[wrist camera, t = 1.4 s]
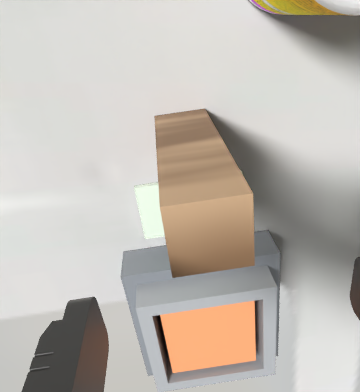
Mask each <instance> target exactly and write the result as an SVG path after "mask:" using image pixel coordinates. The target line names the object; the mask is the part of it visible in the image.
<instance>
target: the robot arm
mask: <svg viewBox="0 0 360 392" xmlns="http://www.w3.org/2000/svg"><path fill="white" fill-rule="evenodd" d="M350 300H351V305H352V308H353V310H354V312H355V314H356V315H357V317H358V318H359V320H360V257H358V258H356V260H355V264H354V270H353V277H352V284H351V290H350ZM108 349H109V344H108V334H107V330H106V327H105V324H104V321H103V318H102V315H101V312H100V309H99V306H98V303H97V300H96V298H95V297H89V298H82V299H76V300H70V301H69V302H68V303H67V306H66V309H65V313H64V317H63V320H58V321H52V322H51V324H50V325H49V326H48V328H47V329H46V330H45V332H44V333H43V334H42V335H41V337H40V339H39V343H38V345H37V348H36V351H35V357H34V358H33V360H32V363H31V366H30V372H29V373H28V375H27V378H26V381H25V384H24V386H23V390H22V392H104V384H105V376H106V368H107V359H108V351H109V350H108Z"/></svg>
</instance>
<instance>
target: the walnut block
mask: <svg viewBox="0 0 360 392" xmlns="http://www.w3.org/2000/svg"><path fill="white" fill-rule="evenodd" d="M155 132H156V150H157V167H158V185H159V203H160V211H161V217H162V223H163V228H164V234H165V239H166V245H167V250H168V256H169V262H170V267H171V273H172V278H177V277H183V276H190V275H196V274H203V273H210V272H216V271H223V270H229V269H236V268H243V267H249V266H255V252H254V207H253V192H252V190H251V189H250V187H249V185H248V183H247V182H246V180H245V178H244V176H243V175H242V173H241V171H240V169H239V168H238V166H237V164H236V162H235V161H234V159H233V157H232V155H231V154H230V152H229V150H228V148H227V147H226V145H225V143H224V141H223V139H222V138H221V136H220V134H219V132H218V131H217V129H216V127H215V125H214V124H213V122H212V120H211V118H210V117H209V115H208V113H207V111H206V110H205V109H199V110H193V111H186V112H179V113H172V114H165V115H158V116H155Z"/></svg>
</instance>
